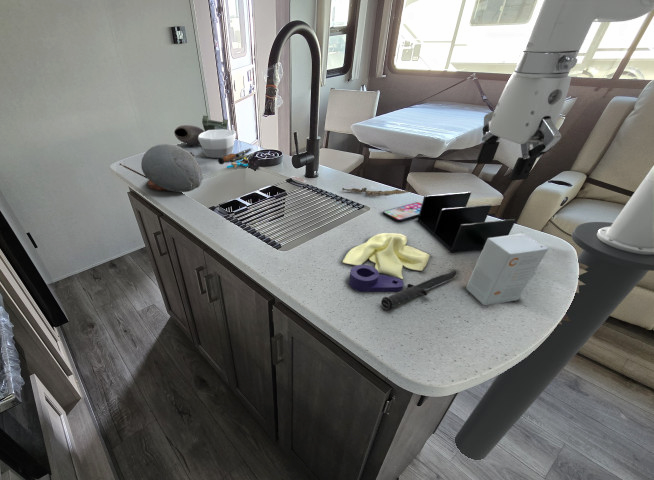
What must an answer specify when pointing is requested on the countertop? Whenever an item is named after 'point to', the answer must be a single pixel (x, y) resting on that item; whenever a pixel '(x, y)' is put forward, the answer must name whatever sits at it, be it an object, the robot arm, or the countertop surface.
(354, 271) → the lever
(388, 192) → the wooden twig
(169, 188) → the gray stone
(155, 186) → the incense holder
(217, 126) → the toy tank
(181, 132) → the planter
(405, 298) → the knife
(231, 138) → the bowl
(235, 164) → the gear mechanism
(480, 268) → the small box
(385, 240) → the cloth
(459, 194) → the rack
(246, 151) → the dinosaur
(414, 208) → the smartphone
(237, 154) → the knife
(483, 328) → the countertop surface
